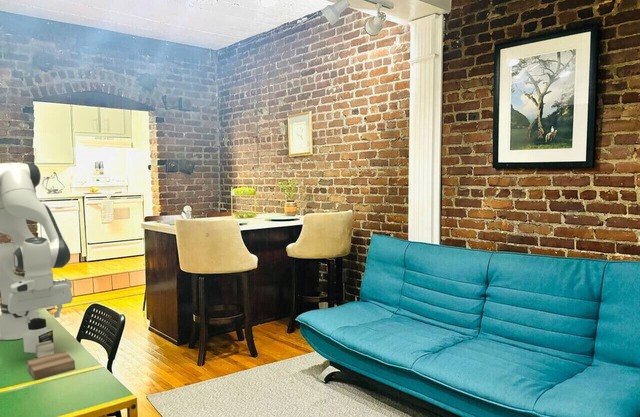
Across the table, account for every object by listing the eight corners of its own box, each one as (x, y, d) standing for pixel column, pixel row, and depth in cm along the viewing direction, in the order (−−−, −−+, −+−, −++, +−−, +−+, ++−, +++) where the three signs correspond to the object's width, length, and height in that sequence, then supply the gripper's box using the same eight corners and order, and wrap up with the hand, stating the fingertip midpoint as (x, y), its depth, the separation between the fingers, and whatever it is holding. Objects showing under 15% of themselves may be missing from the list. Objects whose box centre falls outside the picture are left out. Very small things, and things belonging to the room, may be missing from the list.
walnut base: (27, 369, 164) (26, 360, 164) (66, 359, 172) (65, 351, 172) (34, 379, 155) (34, 371, 155) (75, 369, 163) (74, 360, 163)
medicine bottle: (40, 353, 178) (37, 322, 177) (23, 352, 180) (21, 321, 179) (54, 346, 185) (52, 316, 184) (38, 345, 187) (36, 315, 186)
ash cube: (36, 357, 175) (35, 343, 175) (51, 353, 179) (50, 340, 178) (39, 361, 172) (37, 347, 171) (54, 357, 175) (53, 343, 174)
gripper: (68, 276, 182) (71, 312, 183) (5, 286, 168) (8, 324, 170) (73, 278, 177) (76, 315, 178) (8, 289, 164) (11, 328, 165)
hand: (42, 320), depth 174 cm, fingers open, 8 cm apart
